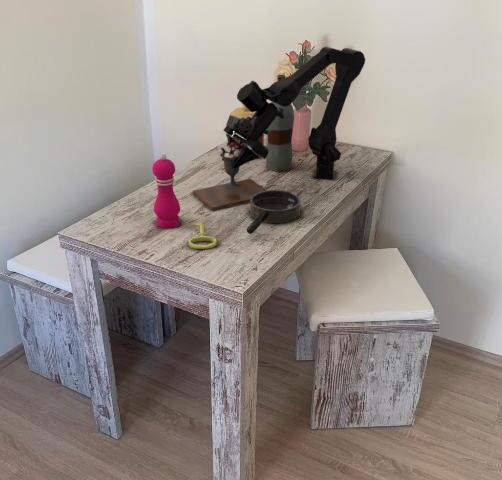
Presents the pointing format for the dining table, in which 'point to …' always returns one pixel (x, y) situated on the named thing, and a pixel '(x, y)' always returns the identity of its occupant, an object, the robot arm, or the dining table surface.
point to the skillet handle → (257, 222)
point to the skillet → (275, 206)
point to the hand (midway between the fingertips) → (228, 164)
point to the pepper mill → (165, 193)
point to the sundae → (231, 164)
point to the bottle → (280, 139)
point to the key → (202, 238)
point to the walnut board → (228, 194)
